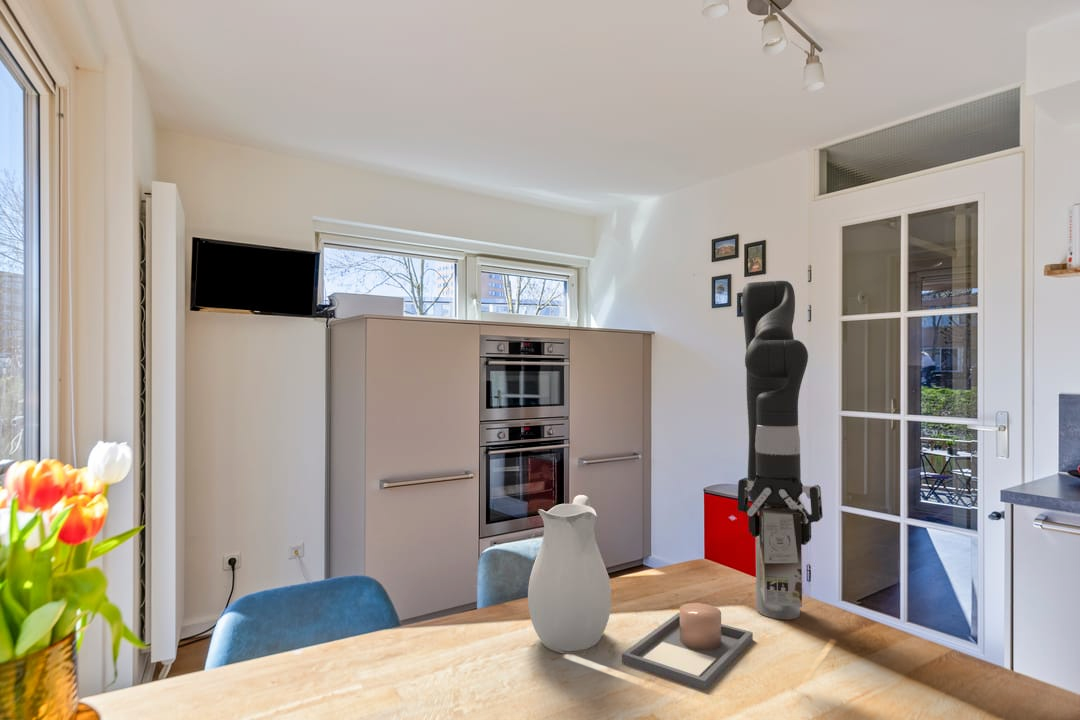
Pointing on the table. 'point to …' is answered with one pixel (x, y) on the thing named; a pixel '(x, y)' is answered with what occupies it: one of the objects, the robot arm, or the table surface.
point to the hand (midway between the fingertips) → (779, 539)
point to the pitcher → (569, 580)
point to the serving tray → (685, 654)
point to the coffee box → (780, 556)
